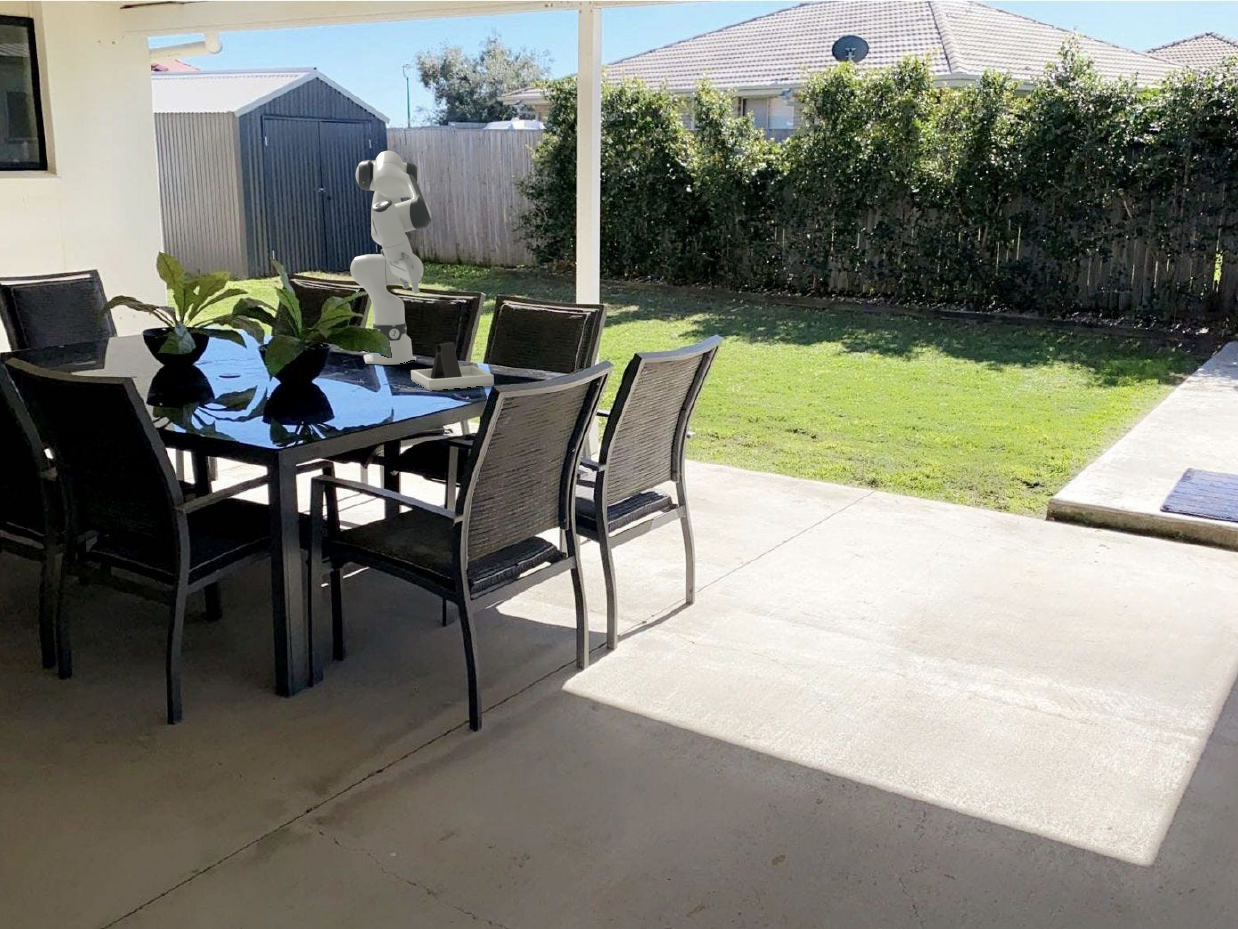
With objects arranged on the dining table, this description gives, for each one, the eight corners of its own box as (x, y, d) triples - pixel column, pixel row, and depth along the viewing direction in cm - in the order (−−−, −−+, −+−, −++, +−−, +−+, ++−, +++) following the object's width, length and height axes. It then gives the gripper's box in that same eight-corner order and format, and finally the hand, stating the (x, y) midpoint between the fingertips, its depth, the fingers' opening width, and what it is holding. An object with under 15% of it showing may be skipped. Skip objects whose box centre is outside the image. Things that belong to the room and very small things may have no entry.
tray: (411, 380, 389) (410, 370, 388) (473, 375, 398) (473, 365, 397) (429, 391, 372) (428, 380, 371) (493, 385, 381) (493, 375, 380)
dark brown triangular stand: (462, 379, 386) (461, 343, 383) (449, 381, 382) (447, 345, 379) (444, 375, 392) (442, 340, 389) (430, 378, 388) (429, 342, 384)
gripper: (418, 252, 368) (431, 292, 375) (396, 243, 385) (409, 281, 391) (400, 259, 366) (414, 299, 372) (378, 250, 383) (392, 288, 389)
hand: (411, 290), depth 382 cm, fingers open, 8 cm apart
